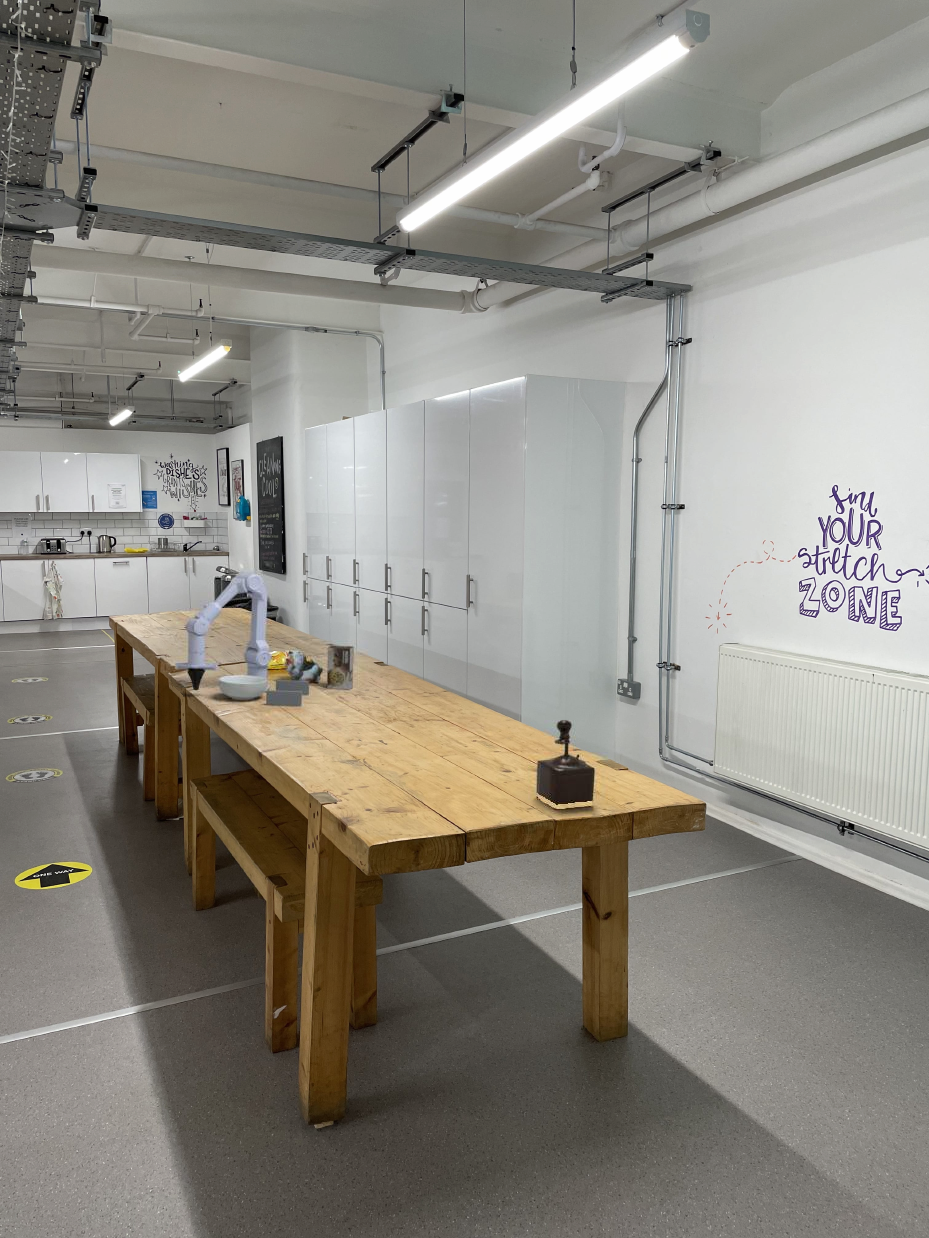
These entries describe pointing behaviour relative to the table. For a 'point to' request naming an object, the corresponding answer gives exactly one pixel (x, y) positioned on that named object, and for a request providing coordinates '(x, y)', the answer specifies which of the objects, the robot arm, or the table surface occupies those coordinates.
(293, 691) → the gray parallel panels
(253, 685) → the cereal bowl
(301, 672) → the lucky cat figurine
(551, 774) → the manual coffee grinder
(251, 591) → the robot arm
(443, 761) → the table surface
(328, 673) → the coffee box
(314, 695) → the table surface
